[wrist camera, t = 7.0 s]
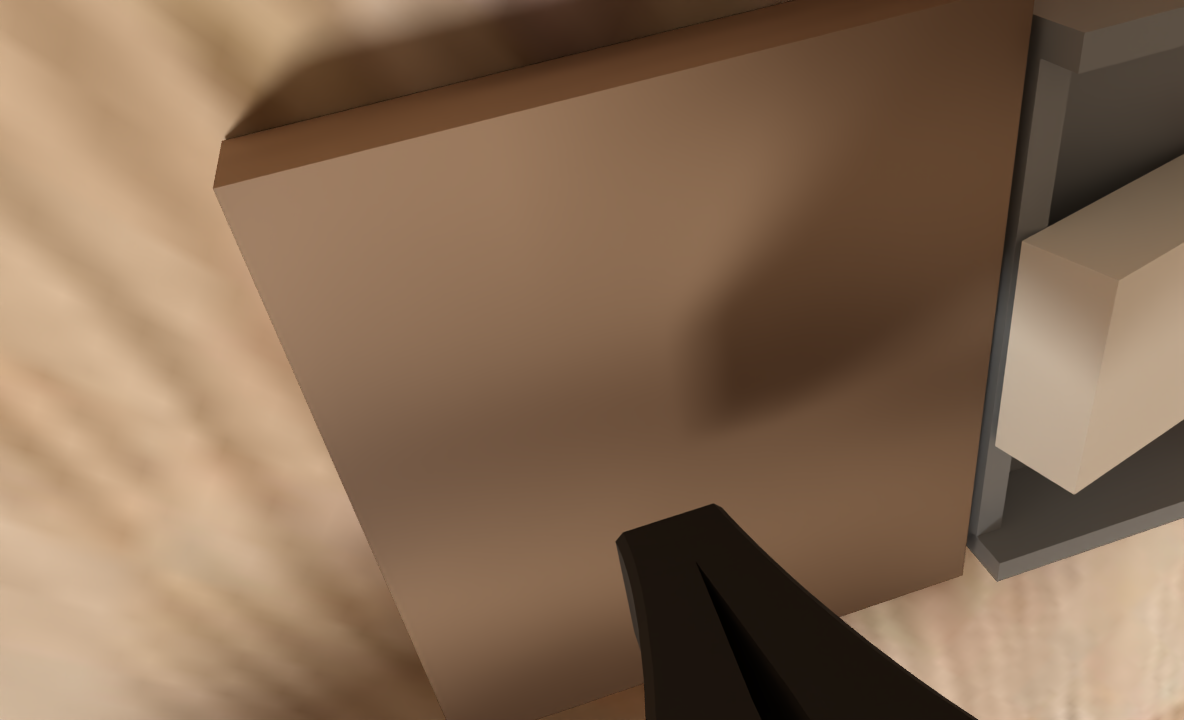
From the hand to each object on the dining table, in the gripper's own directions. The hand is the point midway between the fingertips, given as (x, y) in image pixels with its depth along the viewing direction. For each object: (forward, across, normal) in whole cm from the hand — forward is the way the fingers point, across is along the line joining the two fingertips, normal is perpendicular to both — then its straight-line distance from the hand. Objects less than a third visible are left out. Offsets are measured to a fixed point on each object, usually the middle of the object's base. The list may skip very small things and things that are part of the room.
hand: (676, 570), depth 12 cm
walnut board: (+4, -1, 0) cm, 4 cm away
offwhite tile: (+3, -8, 0) cm, 9 cm away
